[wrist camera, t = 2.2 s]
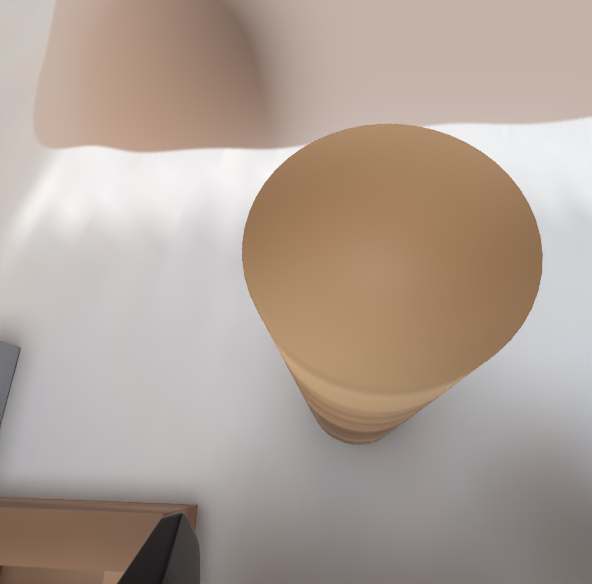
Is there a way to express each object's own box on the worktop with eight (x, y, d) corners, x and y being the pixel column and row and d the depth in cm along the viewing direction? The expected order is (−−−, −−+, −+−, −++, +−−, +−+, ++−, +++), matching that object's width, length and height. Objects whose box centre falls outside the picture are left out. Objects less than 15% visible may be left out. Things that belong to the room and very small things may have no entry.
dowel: (406, 445, 18) (570, 390, 5) (308, 443, 18) (230, 386, 6) (401, 349, 20) (516, 117, 7) (310, 349, 20) (251, 129, 7)
